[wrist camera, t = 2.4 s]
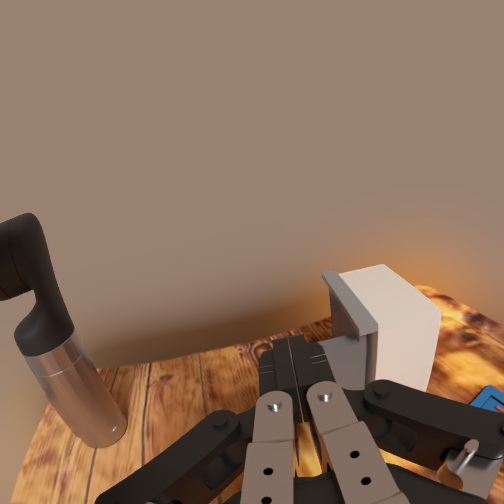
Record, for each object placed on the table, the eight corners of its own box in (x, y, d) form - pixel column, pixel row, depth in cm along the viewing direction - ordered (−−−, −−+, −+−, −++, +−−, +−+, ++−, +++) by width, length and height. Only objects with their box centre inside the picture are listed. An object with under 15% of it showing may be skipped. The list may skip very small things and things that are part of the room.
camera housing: (355, 422, 27) (359, 329, 24) (326, 346, 45) (318, 267, 41) (423, 397, 27) (442, 303, 23) (378, 332, 44) (377, 255, 40)
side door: (275, 426, 29) (257, 356, 26) (270, 365, 42) (256, 301, 39) (362, 406, 29) (366, 333, 25) (338, 351, 41) (333, 285, 38)
